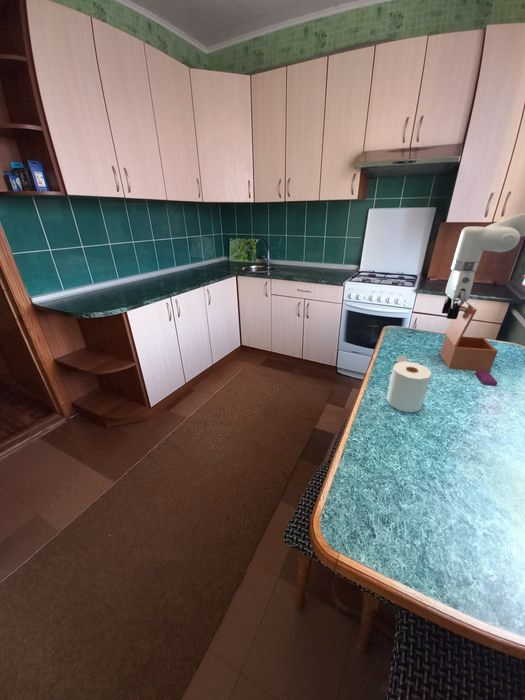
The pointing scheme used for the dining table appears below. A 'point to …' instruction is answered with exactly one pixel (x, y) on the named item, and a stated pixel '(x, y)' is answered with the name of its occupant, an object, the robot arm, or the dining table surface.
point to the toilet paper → (408, 386)
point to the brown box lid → (460, 323)
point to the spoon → (400, 359)
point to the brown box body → (469, 354)
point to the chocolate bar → (486, 378)
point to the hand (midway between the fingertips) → (448, 315)
